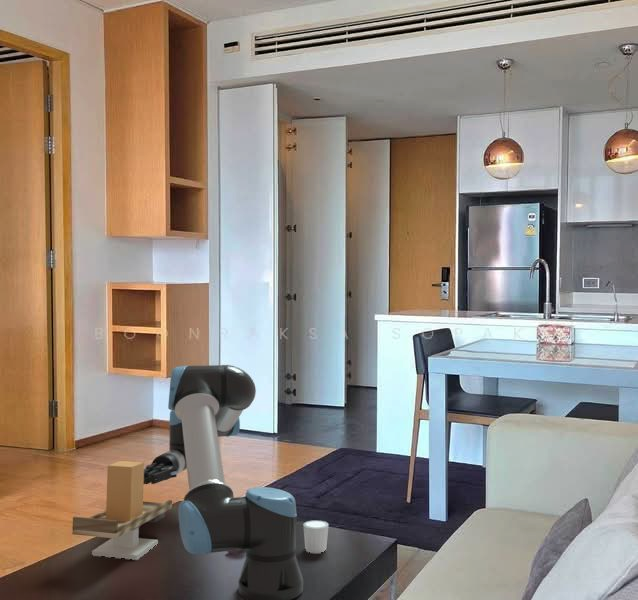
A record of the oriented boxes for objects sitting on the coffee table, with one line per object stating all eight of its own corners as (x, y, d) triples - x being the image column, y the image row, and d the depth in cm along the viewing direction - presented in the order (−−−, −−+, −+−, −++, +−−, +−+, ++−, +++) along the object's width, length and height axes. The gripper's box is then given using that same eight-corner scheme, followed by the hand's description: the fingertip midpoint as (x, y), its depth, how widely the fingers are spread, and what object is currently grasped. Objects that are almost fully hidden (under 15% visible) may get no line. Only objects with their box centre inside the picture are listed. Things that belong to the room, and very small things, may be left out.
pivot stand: (137, 560, 187) (137, 537, 187) (91, 555, 190) (91, 532, 190) (157, 544, 199) (157, 522, 199) (115, 540, 202) (115, 518, 202)
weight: (130, 521, 189) (131, 467, 190) (105, 518, 191) (107, 465, 191) (142, 514, 196) (144, 462, 197) (119, 512, 198) (120, 460, 198)
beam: (115, 549, 177) (116, 521, 178) (71, 544, 180) (72, 517, 181) (171, 517, 209) (172, 493, 209) (133, 513, 211) (134, 490, 212)
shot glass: (332, 552, 194) (332, 526, 194) (307, 555, 191) (308, 529, 191) (323, 543, 200) (323, 518, 200) (299, 546, 198) (299, 521, 198)
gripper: (187, 478, 219) (151, 501, 196) (148, 476, 222) (108, 497, 199) (187, 454, 219) (151, 473, 196) (148, 451, 222) (108, 470, 199)
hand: (129, 485), depth 198 cm, fingers closed
